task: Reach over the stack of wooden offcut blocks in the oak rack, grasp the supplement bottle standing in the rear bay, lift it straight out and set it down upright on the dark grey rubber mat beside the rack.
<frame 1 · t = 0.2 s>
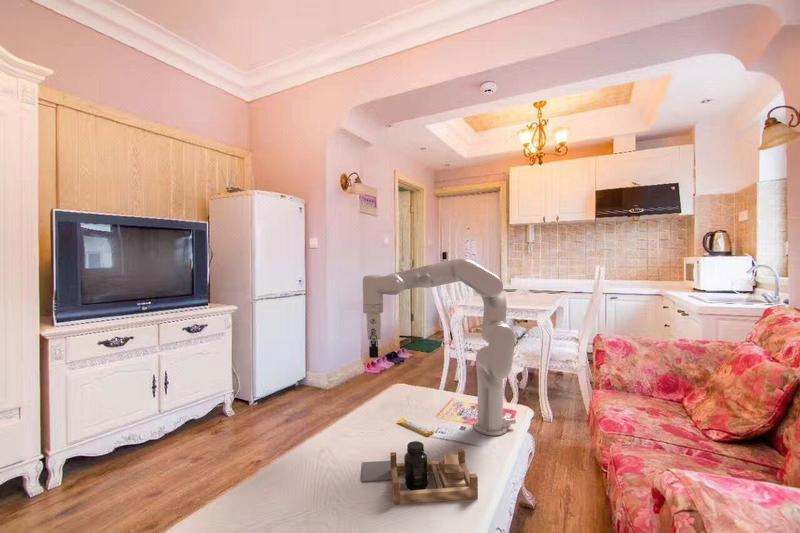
hand: (373, 353, 136), 31 cm above the table, fingers open, 9 cm apart
offcut c: (451, 467, 107), point 5 cm above the table, touching offcut b
mat: (378, 471, 114), on the table
supplement bottle: (416, 485, 107), on the table
rack: (431, 484, 107), on the table
offcut b: (451, 474, 108), point 2 cm above the table, touching offcut a, offcut c
offcut a: (451, 484, 108), on the table, touching offcut b
candy bar: (415, 430, 142), on the table
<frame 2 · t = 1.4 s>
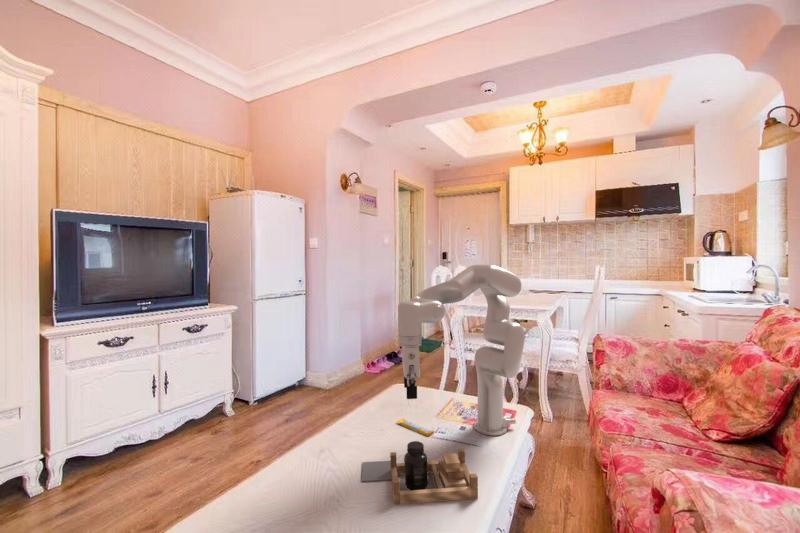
hand: (410, 392, 117), 23 cm above the table, fingers open, 9 cm apart
offcut c: (451, 466, 107), point 5 cm above the table
offcut b: (451, 473, 108), point 2 cm above the table, touching offcut a
everything else where it was.
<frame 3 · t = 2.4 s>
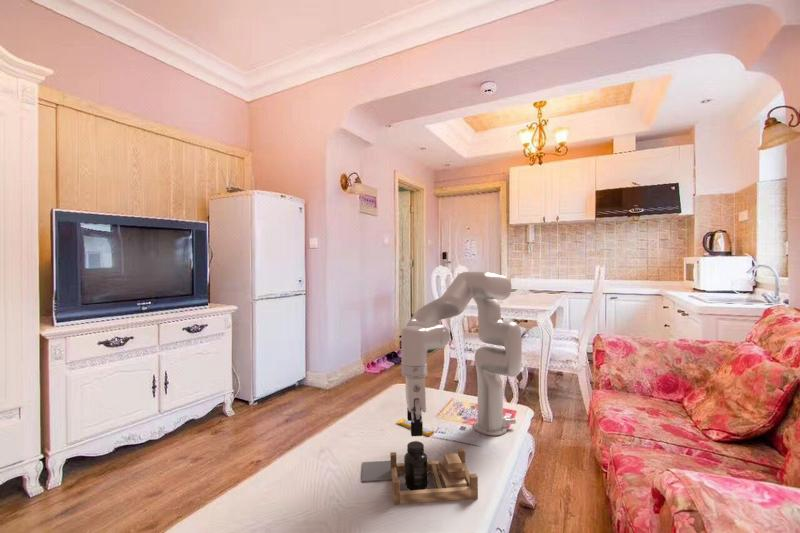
hand: (414, 427, 106), 17 cm above the table, fingers open, 9 cm apart
offcut c: (453, 466, 107), point 5 cm above the table, touching offcut b
offcut b: (451, 473, 108), point 2 cm above the table, touching offcut a, offcut c
everything else where it was.
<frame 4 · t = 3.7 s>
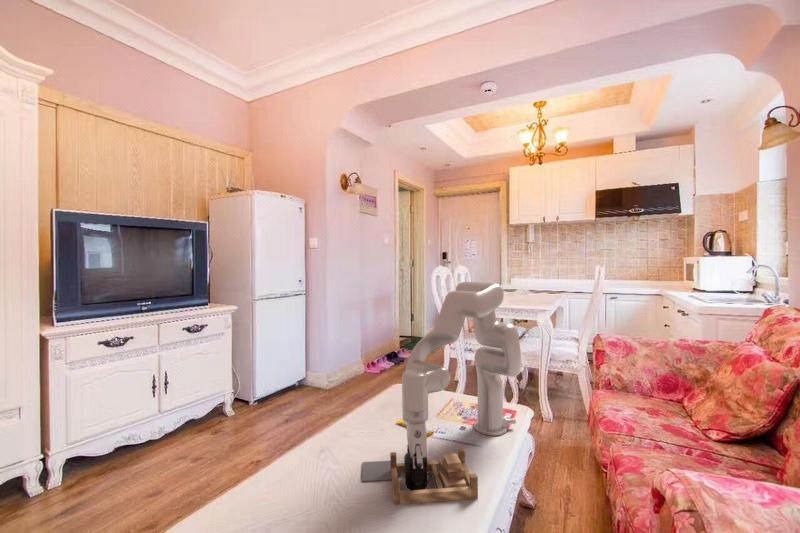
hand: (416, 472, 107), 4 cm above the table, fingers closed on supplement bottle, 6 cm apart
supplement bottle: (416, 485, 107), on the table, touching gripper
everything else where it was.
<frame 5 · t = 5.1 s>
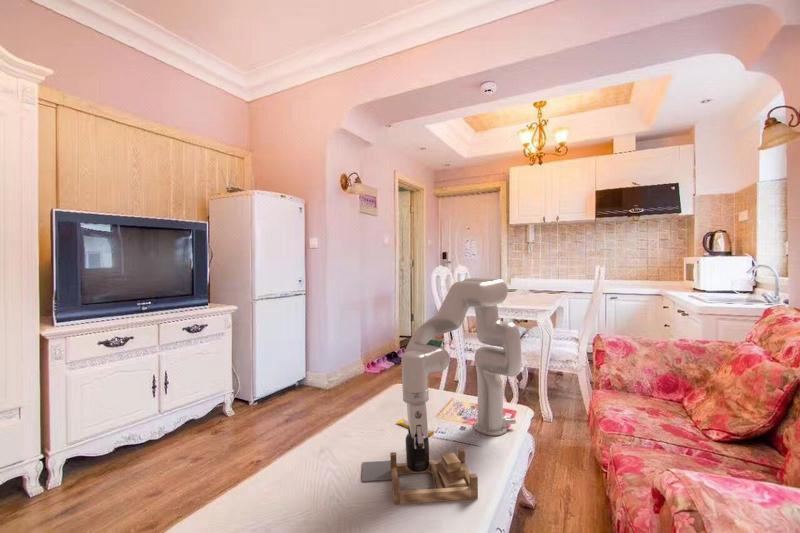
hand: (417, 453, 107), 9 cm above the table, fingers closed on supplement bottle, 6 cm apart
offcut c: (450, 466, 107), point 5 cm above the table
supplement bottle: (418, 466, 107), point 5 cm above the table, touching gripper
offcut b: (451, 473, 108), point 2 cm above the table, touching offcut a
everything else where it was.
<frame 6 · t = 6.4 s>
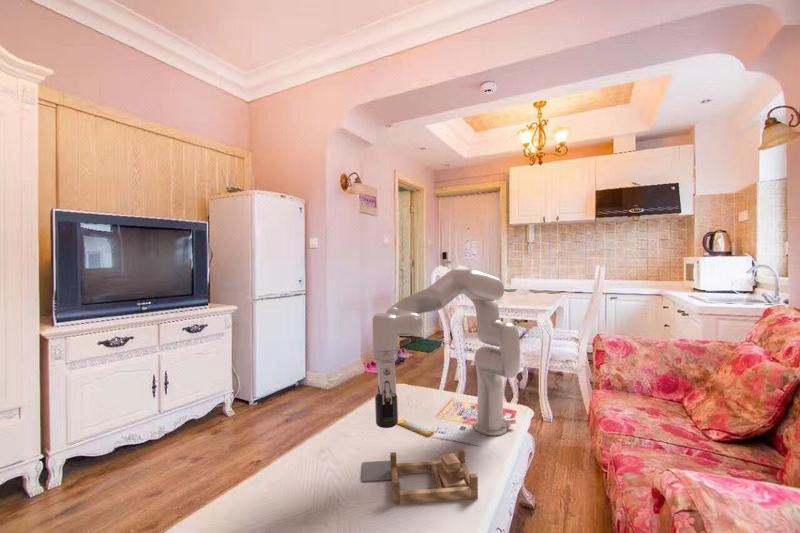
hand: (386, 411, 112), 20 cm above the table, fingers closed on supplement bottle, 6 cm apart
offcut c: (450, 467, 107), point 5 cm above the table, touching offcut b
supplement bottle: (386, 424, 112), point 16 cm above the table, touching gripper
offcut b: (450, 474, 108), point 2 cm above the table, touching offcut a, offcut c
everything else where it was.
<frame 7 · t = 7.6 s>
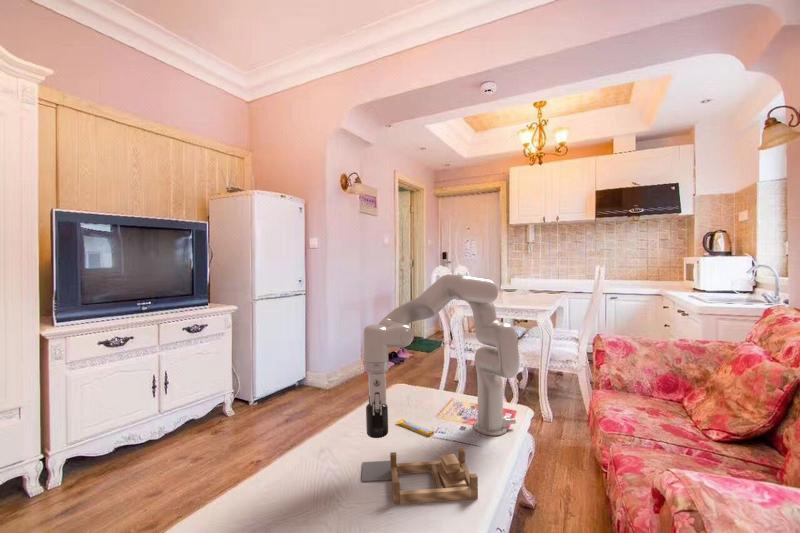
hand: (377, 421, 114), 16 cm above the table, fingers closed on supplement bottle, 6 cm apart
supplement bottle: (377, 434, 114), point 12 cm above the table, touching gripper
offcut b: (450, 475, 107), point 2 cm above the table, touching offcut c
offcut a: (451, 485, 107), on the table
everything else where it was.
when the fingers open (5 cm above the table, at t = 9.9 s): supplement bottle stays where it is, resting on mat.
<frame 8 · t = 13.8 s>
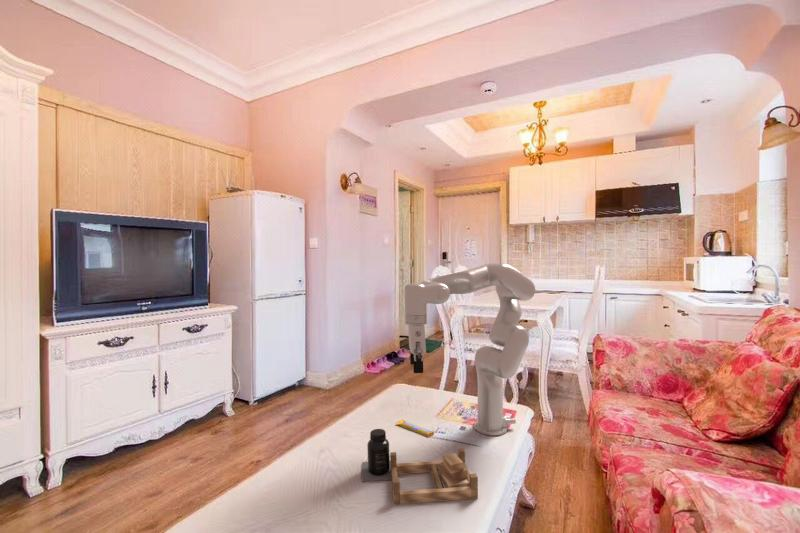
hand: (416, 368, 126), 28 cm above the table, fingers open, 9 cm apart
offcut c: (453, 467, 107), point 5 cm above the table
supplement bottle: (378, 470, 114), resting on mat
offcut b: (453, 475, 107), point 2 cm above the table
everything else where it was.
at the end: supplement bottle inside the target area on the mat (0.2 cm from its centre), point 0.2 cm above the mat's base; supplement bottle tilted 0°; the gripper is holding nothing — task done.
